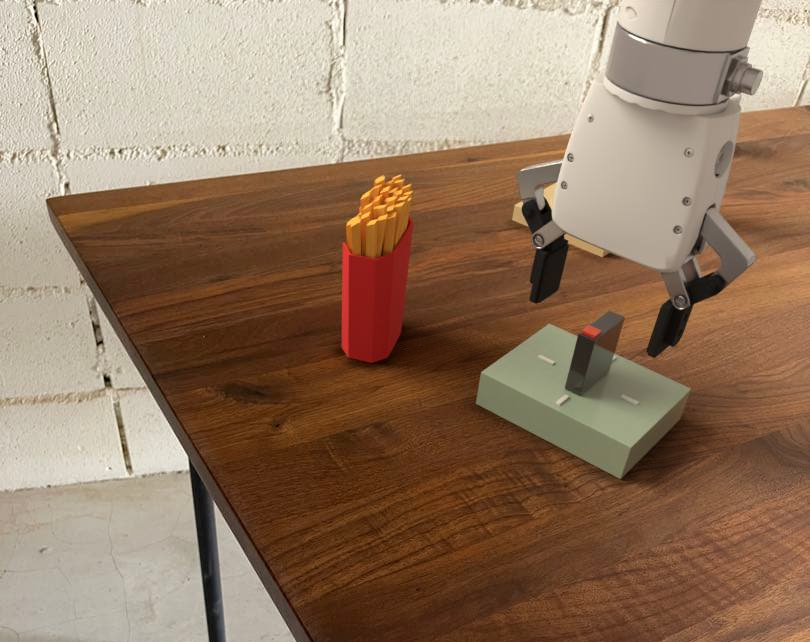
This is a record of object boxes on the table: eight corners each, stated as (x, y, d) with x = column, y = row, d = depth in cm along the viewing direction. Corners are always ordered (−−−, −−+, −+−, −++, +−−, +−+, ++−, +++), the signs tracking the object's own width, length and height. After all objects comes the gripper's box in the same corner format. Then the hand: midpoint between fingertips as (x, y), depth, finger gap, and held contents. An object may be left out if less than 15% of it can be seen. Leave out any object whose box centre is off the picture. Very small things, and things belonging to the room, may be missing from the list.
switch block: (643, 230, 94) (652, 198, 92) (602, 257, 89) (610, 224, 87) (555, 195, 99) (562, 164, 96) (511, 220, 93) (517, 187, 91)
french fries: (363, 309, 78) (371, 161, 69) (409, 319, 78) (424, 171, 68) (329, 364, 72) (333, 208, 63) (380, 375, 71) (391, 220, 62)
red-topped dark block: (593, 364, 69) (609, 306, 66) (609, 371, 69) (626, 314, 65) (564, 388, 67) (578, 330, 63) (579, 396, 66) (595, 337, 63)
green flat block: (679, 419, 70) (692, 386, 68) (620, 479, 64) (631, 445, 62) (542, 354, 75) (549, 321, 73) (475, 403, 70) (481, 370, 67)
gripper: (834, 96, 51) (730, 351, 63) (578, 18, 58) (527, 262, 70) (788, 126, 47) (685, 394, 59) (515, 38, 53) (473, 294, 65)
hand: (599, 322), depth 64 cm, fingers open, 9 cm apart
